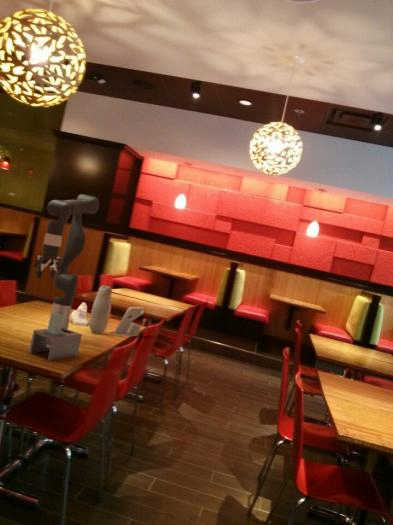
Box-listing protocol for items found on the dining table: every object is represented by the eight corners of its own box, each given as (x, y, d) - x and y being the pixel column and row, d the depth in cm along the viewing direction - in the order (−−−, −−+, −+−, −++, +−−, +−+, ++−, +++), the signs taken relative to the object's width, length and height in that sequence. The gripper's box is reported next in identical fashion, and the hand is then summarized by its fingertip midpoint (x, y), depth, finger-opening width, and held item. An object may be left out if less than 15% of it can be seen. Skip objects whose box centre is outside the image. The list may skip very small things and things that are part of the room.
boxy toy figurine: (50, 344, 199) (57, 313, 198) (60, 348, 196) (67, 316, 196) (40, 345, 193) (47, 313, 193) (51, 349, 191) (58, 317, 190)
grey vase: (108, 334, 259) (118, 288, 258) (96, 335, 250) (107, 287, 249) (95, 329, 263) (105, 284, 263) (83, 330, 254) (94, 283, 254)
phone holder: (127, 331, 280) (133, 303, 280) (140, 335, 275) (146, 307, 275) (109, 332, 265) (116, 303, 264) (122, 337, 260) (129, 307, 259)
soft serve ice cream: (88, 325, 280) (98, 305, 279) (83, 331, 265) (93, 310, 264) (71, 316, 279) (80, 296, 278) (64, 321, 264) (74, 301, 263)
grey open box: (57, 347, 208) (61, 327, 208) (77, 355, 203) (81, 334, 203) (28, 352, 192) (33, 330, 192) (49, 360, 187) (54, 337, 187)
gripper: (56, 243, 210) (49, 277, 210) (34, 241, 197) (27, 276, 197) (68, 247, 207) (61, 280, 207) (47, 244, 194) (40, 280, 194)
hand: (45, 278), depth 202 cm, fingers open, 8 cm apart
